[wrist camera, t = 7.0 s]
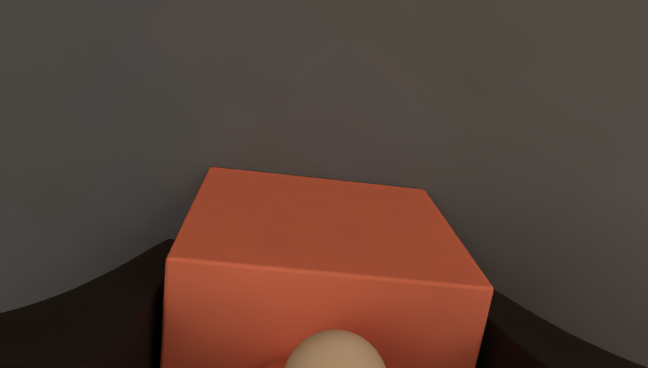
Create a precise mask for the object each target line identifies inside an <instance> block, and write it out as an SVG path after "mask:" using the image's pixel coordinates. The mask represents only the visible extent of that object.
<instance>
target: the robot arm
mask: <svg viewBox="0 0 648 368" xmlns="http://www.w3.org/2000/svg"><path fill="white" fill-rule="evenodd" d="M174 241H175V240H171V239H169V240H166V241H164V242H162V243H160V244H158V245H156V246H155V247H153V248H151V249H149V250H148V251H146V252H144V253H143V254H141V255H139V256H137V257H136V258H134V259H132V260H130V261H129V262H127V263H125V264H123V265H121V266H120V267H118V268H116V269H114V270H112V271H110V272H108V273H106V274H104V275H102V276H100V277H98V278H96V279H94V280H92V281H90V282H88V283H85V284H83V285H81V286H79V287H77V288H75V289H72V290H70V291H67V292H65V293H62V294H60V295H57V296H55V297H52V298H49V299H46V300H43V301H41V302H38V303H35V304H32V305H29V306H26V307H22V308H18V309H15V310H11V311H7V312H3V313H0V368H160V354H161V336H162V318H163V300H164V281H165V263H166V258H167V256H168V254H169V252H170V250H171V248H172V246H173V243H174ZM476 368H647V367H644V366H641V365H639V364H636V363H634V362H631V361H629V360H626V359H624V358H621V357H619V356H617V355H614V354H612V353H610V352H608V351H606V350H603V349H601V348H599V347H597V346H595V345H592V344H590V343H588V342H586V341H584V340H582V339H580V338H578V337H576V336H574V335H572V334H570V333H568V332H566V331H564V330H562V329H560V328H558V327H557V326H555V325H553V324H551V323H549V322H548V321H546V320H544V319H542V318H540V317H539V316H537V315H535V314H533V313H532V312H530V311H528V310H527V309H525V308H523V307H522V306H520V305H518V304H517V303H515V302H514V301H512V300H510V299H509V298H507V297H505V296H504V295H502V294H501V293H499V292H498V291H496V290H494V289H493V295H492V299H491V303H490V308H489V312H488V316H487V321H486V325H485V329H484V334H483V338H482V342H481V346H480V351H479V355H478V359H477V364H476Z"/></svg>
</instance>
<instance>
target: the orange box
mask: <svg viewBox="0 0 648 368" xmlns="http://www.w3.org/2000/svg"><path fill="white" fill-rule="evenodd" d="M492 295H493V287H492V285H491V284H490V282H489V281H488V280H487V278H486V277H485V275H484V274H483V272H482V271H481V270H480V268H479V267H478V265H477V264H476V262H475V261H474V260H473V258H472V257H471V255H470V254H469V252H468V251H467V250H466V248H465V247H464V245H463V244H462V243H461V241H460V240H459V238H458V237H457V235H456V234H455V233H454V231H453V230H452V228H451V227H450V225H449V224H448V223H447V221H446V220H445V218H444V217H443V215H442V214H441V213H440V211H439V210H438V208H437V207H436V206H435V204H434V203H433V201H432V200H431V198H430V197H429V196H428V194H427V193H426V191H425V190H423V189H414V188H405V187H396V186H386V185H377V184H368V183H358V182H349V181H340V180H330V179H321V178H312V177H302V176H293V175H284V174H274V173H265V172H256V171H246V170H237V169H228V168H218V167H210V168H209V170H208V172H207V174H206V176H205V179H204V181H203V183H202V185H201V187H200V189H199V191H198V193H197V195H196V197H195V199H194V202H193V204H192V206H191V208H190V210H189V212H188V214H187V216H186V218H185V220H184V222H183V225H182V227H181V229H180V231H179V233H178V235H177V237H176V239H175V241H174V243H173V246H172V248H171V250H170V252H169V254H168V256H167V258H166V263H165V281H164V300H163V318H162V336H161V354H160V368H476V364H477V359H478V355H479V351H480V346H481V342H482V338H483V334H484V329H485V325H486V321H487V316H488V312H489V308H490V303H491V299H492Z"/></svg>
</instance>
